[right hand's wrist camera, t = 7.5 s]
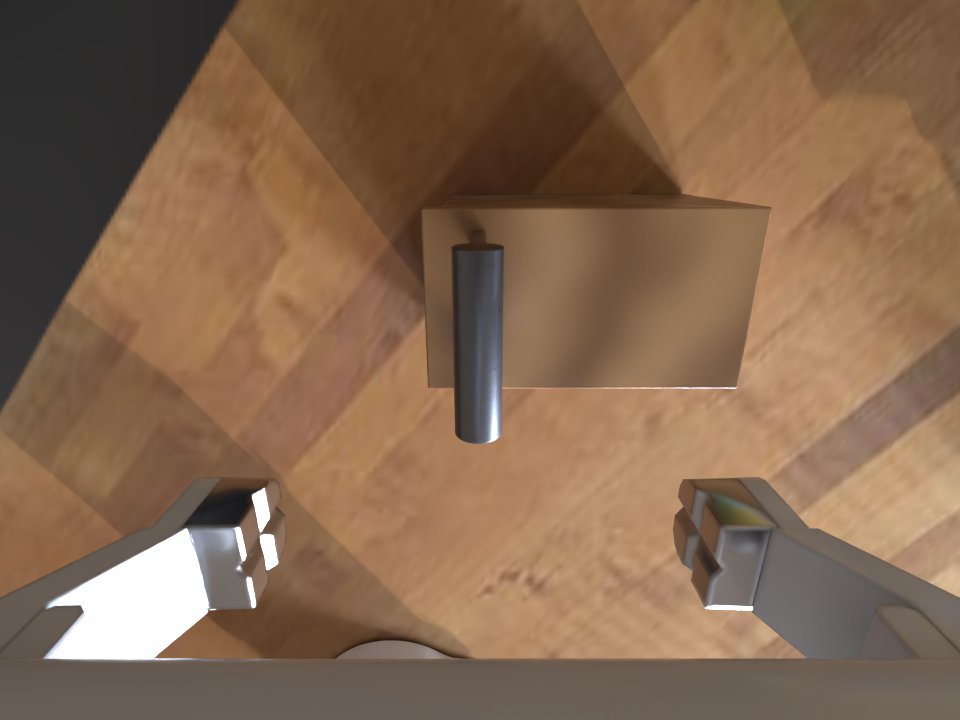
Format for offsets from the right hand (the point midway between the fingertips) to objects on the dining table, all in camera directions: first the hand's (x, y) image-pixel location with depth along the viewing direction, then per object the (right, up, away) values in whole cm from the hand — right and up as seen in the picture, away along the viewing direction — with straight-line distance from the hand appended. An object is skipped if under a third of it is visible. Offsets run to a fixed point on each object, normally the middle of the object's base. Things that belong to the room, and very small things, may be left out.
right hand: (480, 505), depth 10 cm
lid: (+5, +6, +16) cm, 18 cm away
